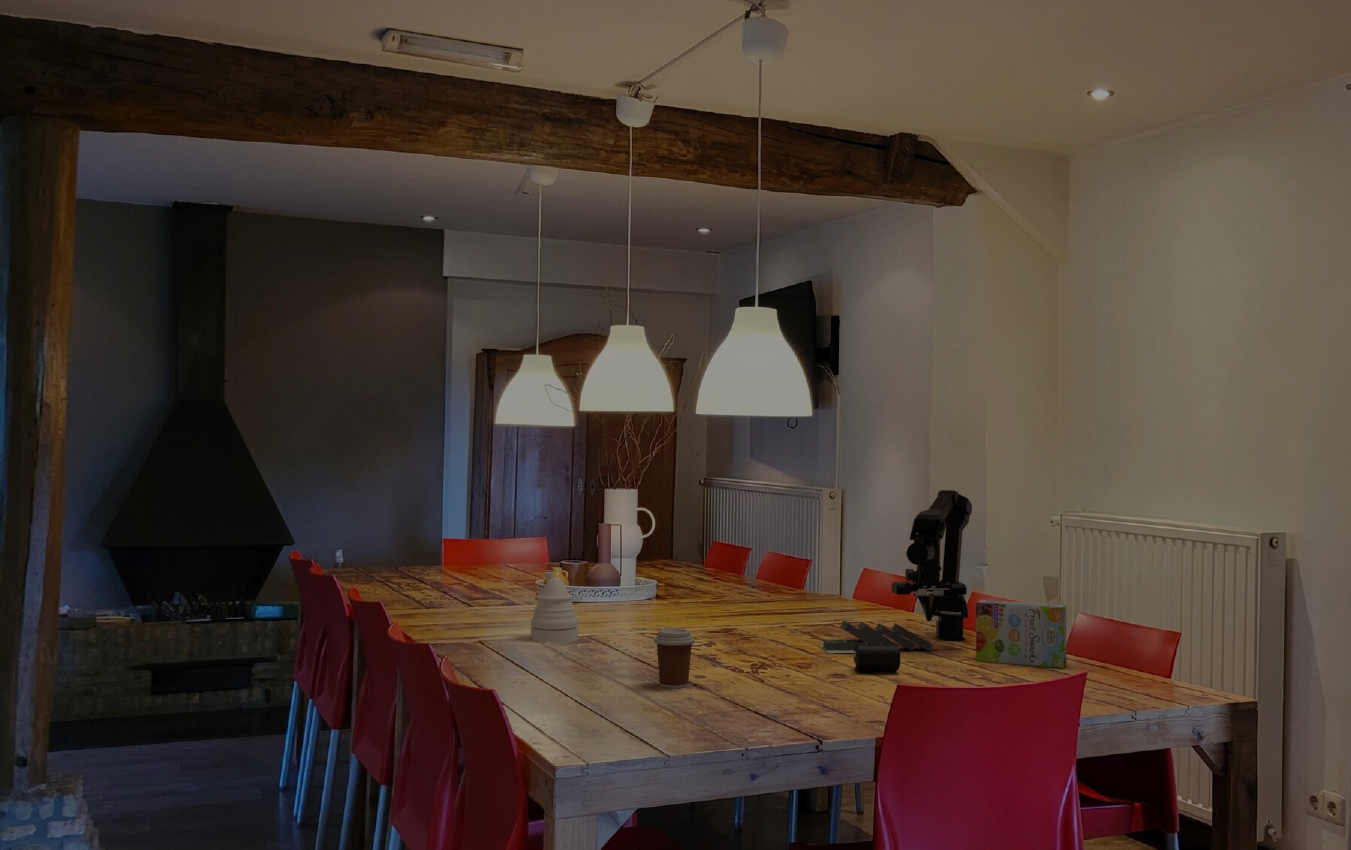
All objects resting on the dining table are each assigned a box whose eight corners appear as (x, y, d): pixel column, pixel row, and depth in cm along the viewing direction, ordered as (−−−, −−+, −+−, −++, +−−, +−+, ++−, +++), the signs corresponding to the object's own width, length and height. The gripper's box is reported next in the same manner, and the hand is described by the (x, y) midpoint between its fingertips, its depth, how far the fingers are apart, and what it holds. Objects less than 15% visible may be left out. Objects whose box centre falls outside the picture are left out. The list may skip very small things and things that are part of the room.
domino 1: (875, 639, 299) (844, 619, 299) (880, 642, 294) (848, 622, 294) (871, 646, 299) (839, 626, 299) (876, 649, 294) (844, 629, 294)
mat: (852, 645, 302) (852, 644, 302) (862, 653, 290) (862, 652, 290) (818, 645, 302) (818, 644, 302) (828, 654, 290) (828, 652, 290)
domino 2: (892, 641, 300) (861, 620, 299) (897, 644, 295) (866, 623, 294) (888, 648, 300) (857, 627, 299) (893, 651, 295) (861, 630, 294)
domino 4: (927, 640, 300) (895, 622, 300) (933, 644, 295) (900, 625, 295) (923, 647, 300) (891, 629, 300) (929, 651, 295) (896, 632, 295)
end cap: (858, 675, 263) (858, 646, 264) (852, 669, 270) (852, 640, 271) (900, 675, 264) (900, 646, 264) (893, 669, 271) (893, 640, 271)
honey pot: (522, 640, 305) (523, 573, 305) (545, 633, 317) (546, 569, 317) (564, 644, 300) (565, 576, 300) (586, 637, 312) (587, 571, 312)
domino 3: (911, 640, 300) (878, 622, 299) (916, 644, 295) (883, 625, 294) (907, 648, 300) (874, 629, 299) (912, 651, 295) (879, 632, 294)
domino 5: (860, 638, 299) (823, 638, 298) (865, 642, 294) (827, 642, 293) (860, 646, 299) (823, 647, 298) (865, 650, 294) (827, 650, 293)
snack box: (1066, 665, 278) (1067, 604, 279) (1064, 669, 273) (1064, 606, 273) (978, 657, 287) (979, 598, 287) (974, 661, 282) (975, 600, 282)
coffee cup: (680, 691, 243) (681, 635, 243) (645, 686, 248) (645, 631, 248) (702, 684, 251) (702, 629, 251) (667, 679, 256) (668, 626, 256)
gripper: (953, 558, 307) (953, 616, 307) (886, 558, 306) (885, 616, 305) (967, 563, 296) (967, 622, 296) (897, 562, 294) (897, 622, 294)
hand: (928, 621), depth 298 cm, fingers closed
